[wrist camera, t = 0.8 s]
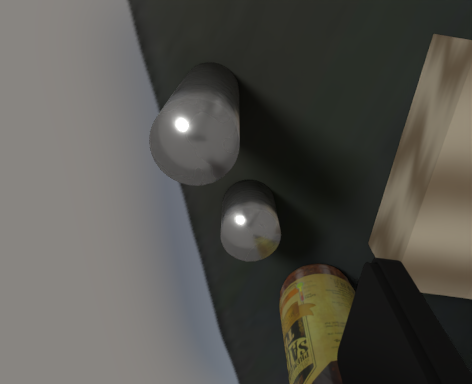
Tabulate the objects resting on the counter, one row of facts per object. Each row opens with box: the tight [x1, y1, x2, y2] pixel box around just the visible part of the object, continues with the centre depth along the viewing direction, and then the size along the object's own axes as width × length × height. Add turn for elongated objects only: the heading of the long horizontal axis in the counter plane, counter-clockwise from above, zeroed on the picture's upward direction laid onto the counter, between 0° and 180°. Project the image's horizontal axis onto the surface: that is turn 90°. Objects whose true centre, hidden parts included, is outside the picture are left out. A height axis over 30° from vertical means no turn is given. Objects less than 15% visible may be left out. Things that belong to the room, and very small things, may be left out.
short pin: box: [221, 180, 281, 261], centre depth 32 cm, size 4×4×5 cm
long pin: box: [150, 62, 240, 185], centre depth 25 cm, size 4×4×12 cm
